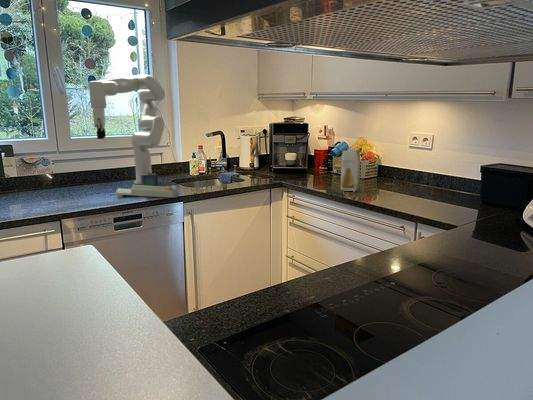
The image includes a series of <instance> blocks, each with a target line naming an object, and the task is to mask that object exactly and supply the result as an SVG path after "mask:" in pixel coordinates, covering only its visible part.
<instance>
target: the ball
mask: <svg viewBox="0 0 533 400" xmlns="http://www.w3.org/2000/svg"><path fill="white" fill-rule="evenodd" d="M164 187H165V188H164V190H168V191H172V188H171V185H170V186H169V185H166V186H164Z"/></svg>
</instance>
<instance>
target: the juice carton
mask: <svg viewBox="0 0 533 400" xmlns="http://www.w3.org/2000/svg"><path fill="white" fill-rule="evenodd" d="M340 166H341V167H340V168H341V169H340V189H341V190H343V191H342V192H344V191H353V192H352V193H355V191H356V192H358V190H359V187H360V169H361V168H360V167H361V154H360V150H359V149H357V150H354V149H353V148H351V147H349V148H348V149H345V150H344V149H343V151H342V154H341V165H340Z"/></svg>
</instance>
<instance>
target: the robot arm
mask: <svg viewBox="0 0 533 400" xmlns="http://www.w3.org/2000/svg"><path fill="white" fill-rule="evenodd" d="M88 87H89V88H88V90H89V100H90V109H92V110H93V111H92V114H93V127H94V128H96V138H97V139H98V140H104V139H105V138H106V136H107V135H106V129H105V126H106V116H105V113H106V112H105V109H107V101H106V98H107V96H108V97H109V96H110V97H111V96H113V97H114V96H116V95H117V94H127V93H132V92H136V91H138V98H139V100H140V101H141V104H142V110H141V112H140V113H141V114H140V117H139V121H138V128H139V130H141V131H135V132H134V133H133V134H132V135H131V139H130V140H131V143H132V147H133V154H134V165H135V179H136V180H134V181H133V184H134V185H141V175H145V174H147V172H148V171H150V173H153V172H152V158H151V157H152V156H151V152H150V150H149V148H150V149H151V148H152V149H155V148H158V147H159V145H160V143H161V140H162V136H163V132H164V130H165V121H164V119H163V117H161V116H159V115H157V107H156V105H155V103H154V102H161V101H163V100H164V99H165V96H166V93H165V92H166V91H165V89H164V87H163V86H162V85H161V84H160V83H159V82H158V81H157V80H156V79H155V78H154V77H153V76H151V75H149V74H136V75H135V74H134V75H130V76H123V77H118V78H112V79H104V80H91V81H89V83H88Z"/></svg>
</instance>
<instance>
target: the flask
mask: <svg viewBox="0 0 533 400" xmlns="http://www.w3.org/2000/svg"><path fill="white" fill-rule="evenodd" d="M140 185H144V186H159V184H158V174H157V173H154V172H152V173H150V171H148V172H147V174H145V175H141V184H140Z"/></svg>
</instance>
